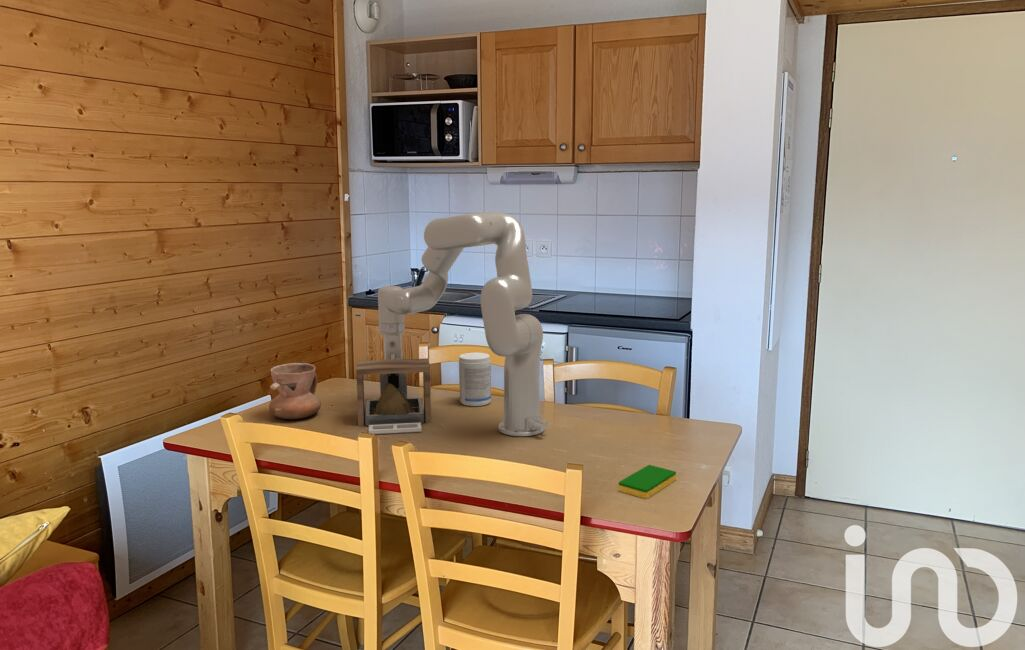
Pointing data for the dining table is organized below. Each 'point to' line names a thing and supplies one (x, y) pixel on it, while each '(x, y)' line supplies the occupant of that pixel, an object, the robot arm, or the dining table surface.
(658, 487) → the dish sponge
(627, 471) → the dining table surface
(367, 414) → the slider
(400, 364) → the tunnel
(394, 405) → the rock
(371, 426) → the plate
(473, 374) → the supplement tub
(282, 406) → the ceramic jug
